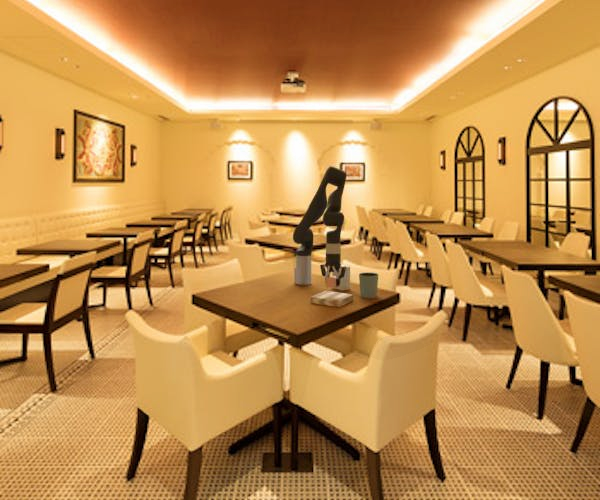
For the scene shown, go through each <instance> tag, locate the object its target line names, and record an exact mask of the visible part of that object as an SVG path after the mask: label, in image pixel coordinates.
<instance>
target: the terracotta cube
mask: <svg viewBox="0 0 600 500" xmlns="http://www.w3.org/2000/svg"><path fill="white" fill-rule="evenodd" d="M325 279H326V281H325V282H326V283H325V288H331V289H334V288H336V287H339V286H336V279H337V278H336V276H333V275H330V276H328V277H326V278H325Z"/></svg>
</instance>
